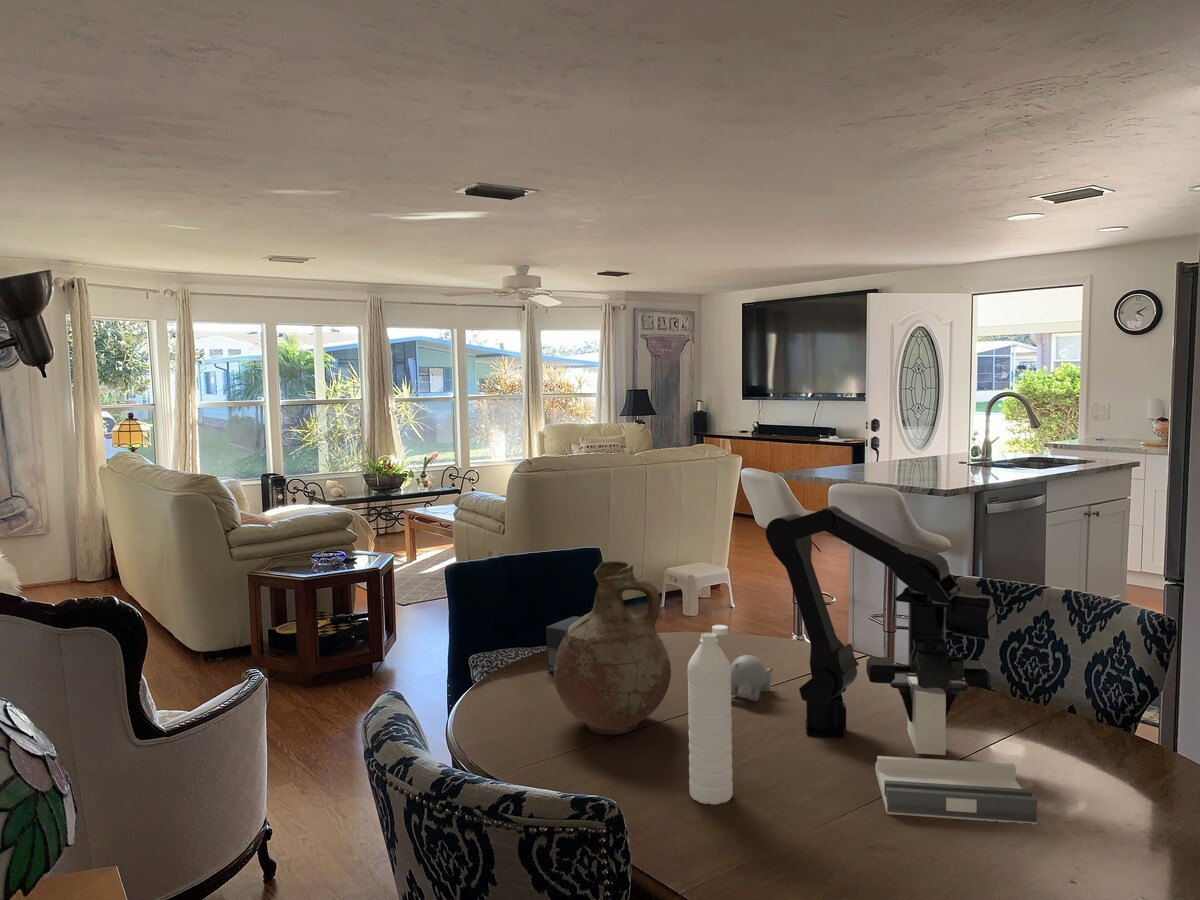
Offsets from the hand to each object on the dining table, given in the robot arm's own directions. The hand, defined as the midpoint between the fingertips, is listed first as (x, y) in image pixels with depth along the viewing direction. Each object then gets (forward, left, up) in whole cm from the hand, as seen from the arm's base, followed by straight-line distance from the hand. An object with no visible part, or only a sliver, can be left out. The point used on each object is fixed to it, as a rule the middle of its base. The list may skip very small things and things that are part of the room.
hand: (926, 722), depth 143 cm
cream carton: (0, 0, -4) cm, 4 cm away
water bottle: (-34, -19, -6) cm, 39 cm away
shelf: (+1, -15, -5) cm, 16 cm away
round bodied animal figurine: (-29, +23, -6) cm, 38 cm away
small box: (-69, +36, -6) cm, 78 cm away
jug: (-54, +5, -6) cm, 55 cm away
